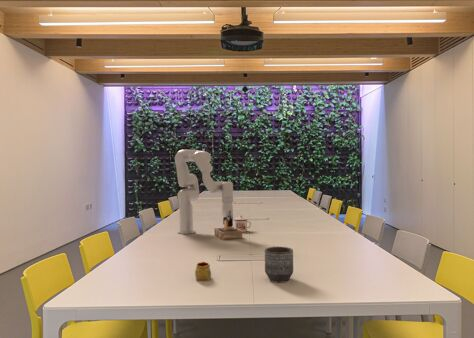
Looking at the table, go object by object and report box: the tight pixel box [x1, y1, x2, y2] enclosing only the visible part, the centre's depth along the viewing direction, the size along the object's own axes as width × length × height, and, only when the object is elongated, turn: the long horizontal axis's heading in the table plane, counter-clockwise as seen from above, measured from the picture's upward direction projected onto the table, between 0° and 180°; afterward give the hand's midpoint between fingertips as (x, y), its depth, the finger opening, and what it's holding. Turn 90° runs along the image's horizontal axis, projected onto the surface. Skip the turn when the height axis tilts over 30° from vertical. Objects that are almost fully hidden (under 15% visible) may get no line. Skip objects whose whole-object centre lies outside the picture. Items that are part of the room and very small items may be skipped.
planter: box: [264, 246, 294, 283], centre depth 169 cm, size 12×12×13 cm
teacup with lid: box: [234, 214, 252, 233], centre depth 286 cm, size 12×9×12 cm
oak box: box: [213, 226, 243, 241], centre depth 266 cm, size 17×14×6 cm
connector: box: [223, 219, 233, 230], centre depth 266 cm, size 4×4×11 cm
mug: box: [194, 261, 212, 281], centre depth 174 cm, size 12×7×7 cm, turn 177°
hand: (228, 225), depth 265 cm, fingers open, 9 cm apart
